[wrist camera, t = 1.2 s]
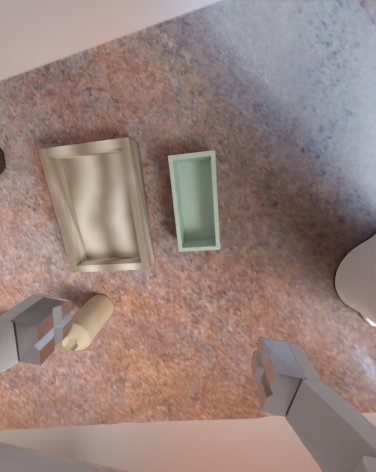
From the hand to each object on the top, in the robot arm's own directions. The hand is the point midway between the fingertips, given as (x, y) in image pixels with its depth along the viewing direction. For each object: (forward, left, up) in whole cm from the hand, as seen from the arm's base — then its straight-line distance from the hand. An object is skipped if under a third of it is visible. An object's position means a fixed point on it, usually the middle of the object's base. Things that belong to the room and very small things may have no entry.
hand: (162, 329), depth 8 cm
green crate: (0, -3, -26) cm, 26 cm away
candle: (+22, +17, -26) cm, 38 cm away
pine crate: (+16, -3, -26) cm, 30 cm away
